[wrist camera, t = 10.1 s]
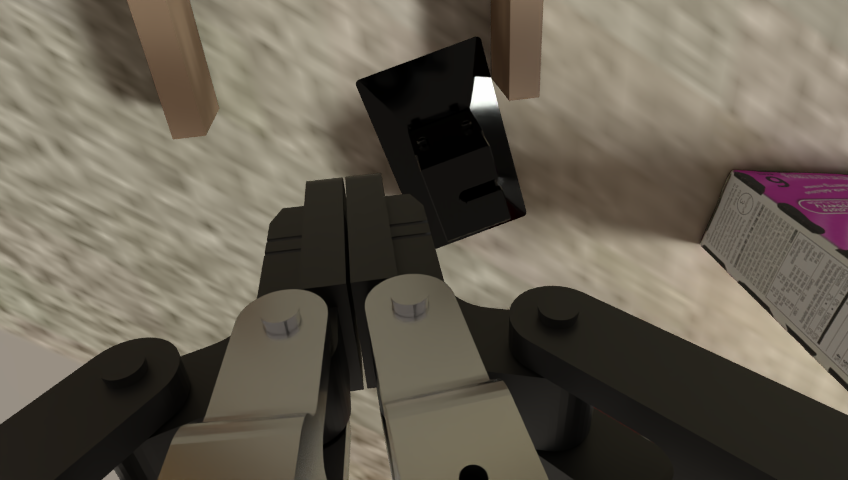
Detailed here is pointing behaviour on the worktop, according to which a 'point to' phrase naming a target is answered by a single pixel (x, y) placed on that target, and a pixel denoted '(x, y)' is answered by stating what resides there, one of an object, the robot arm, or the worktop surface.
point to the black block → (446, 140)
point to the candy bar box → (790, 254)
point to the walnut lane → (192, 86)
